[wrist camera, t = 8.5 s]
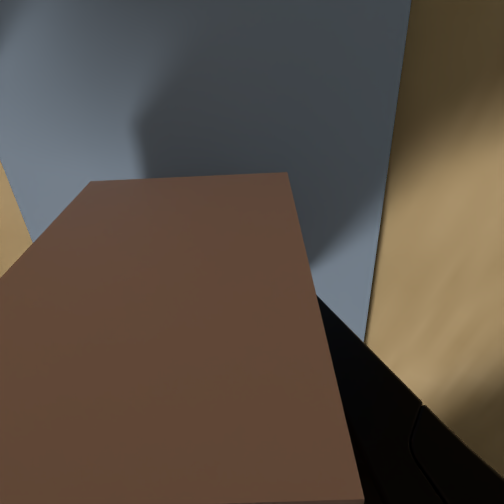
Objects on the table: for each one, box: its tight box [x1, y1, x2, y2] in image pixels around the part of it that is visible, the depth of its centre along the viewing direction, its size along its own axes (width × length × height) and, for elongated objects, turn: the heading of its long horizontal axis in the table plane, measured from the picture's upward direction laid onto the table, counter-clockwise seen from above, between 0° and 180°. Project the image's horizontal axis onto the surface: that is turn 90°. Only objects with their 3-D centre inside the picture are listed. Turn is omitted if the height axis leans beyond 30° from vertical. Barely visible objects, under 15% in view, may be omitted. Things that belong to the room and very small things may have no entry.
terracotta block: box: [0, 172, 365, 504], centre depth 7 cm, size 4×4×7 cm
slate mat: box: [0, 0, 411, 342], centre depth 11 cm, size 10×13×1 cm
